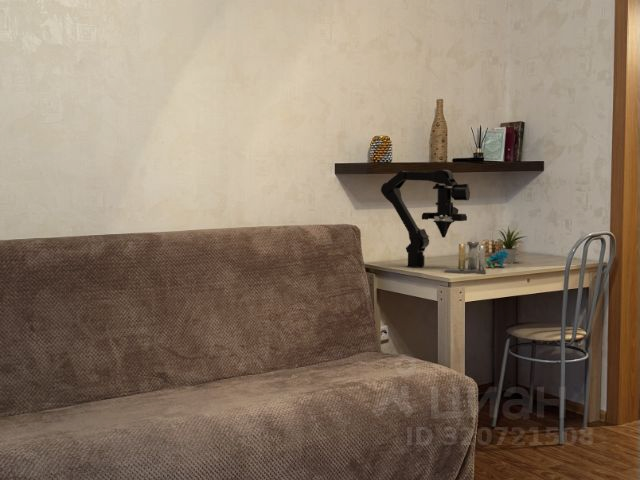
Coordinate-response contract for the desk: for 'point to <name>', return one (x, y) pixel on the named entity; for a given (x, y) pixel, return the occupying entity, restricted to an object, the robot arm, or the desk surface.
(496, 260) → the blue animal figurine
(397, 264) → the desk surface
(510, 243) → the house plant
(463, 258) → the swing leg
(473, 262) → the grey stone tower
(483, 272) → the bolt plate
